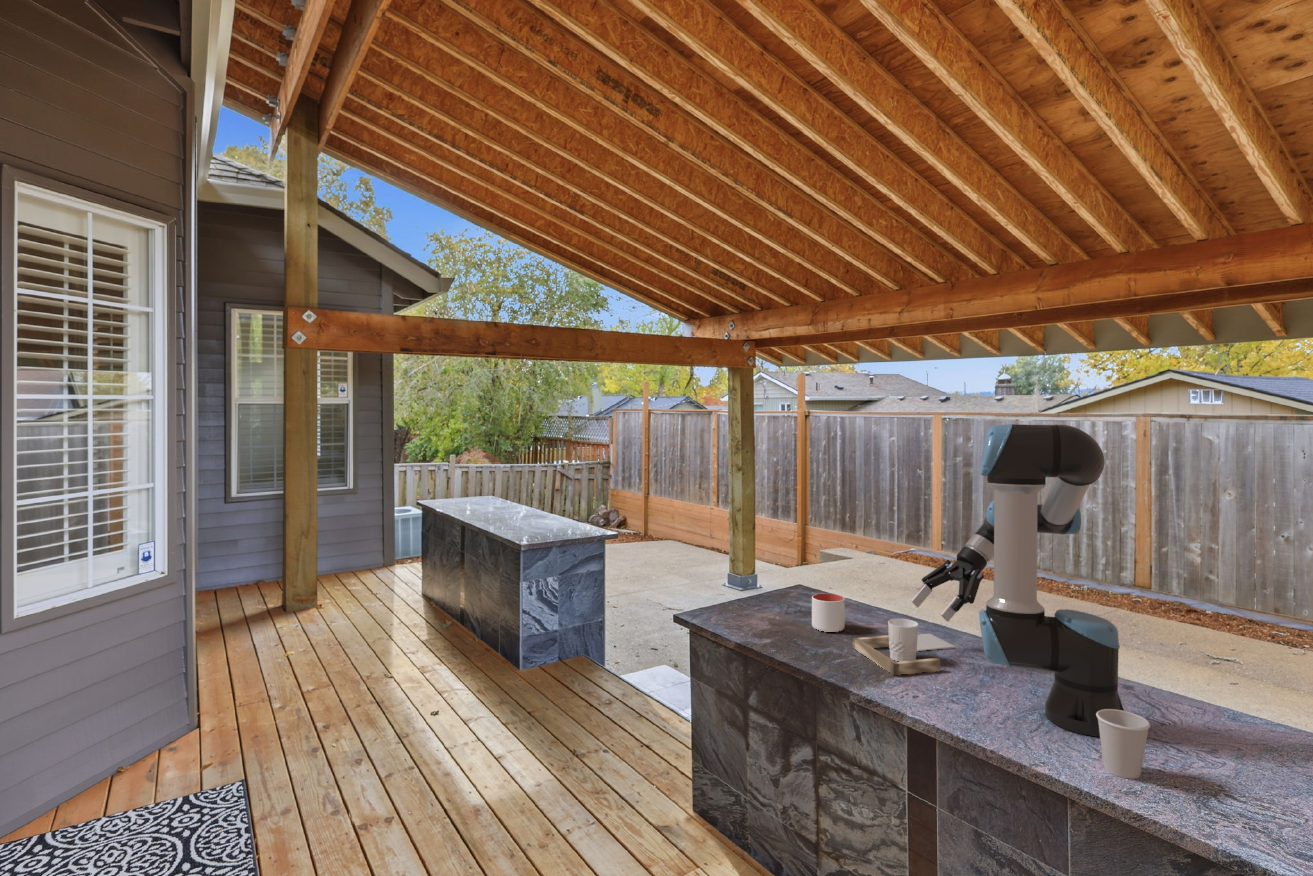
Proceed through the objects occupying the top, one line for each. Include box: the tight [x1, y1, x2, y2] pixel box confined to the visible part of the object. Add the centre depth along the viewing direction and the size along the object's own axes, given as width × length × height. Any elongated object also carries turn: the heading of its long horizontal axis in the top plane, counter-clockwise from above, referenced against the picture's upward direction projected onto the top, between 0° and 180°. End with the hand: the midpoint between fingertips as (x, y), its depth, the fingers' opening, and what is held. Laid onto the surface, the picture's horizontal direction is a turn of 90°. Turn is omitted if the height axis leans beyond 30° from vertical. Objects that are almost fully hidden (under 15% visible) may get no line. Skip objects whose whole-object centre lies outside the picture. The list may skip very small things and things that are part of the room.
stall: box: [851, 634, 941, 676], centre depth 185 cm, size 14×21×3 cm, turn 13°
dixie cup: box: [1096, 709, 1151, 780], centre depth 127 cm, size 8×8×10 cm
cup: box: [811, 592, 846, 633], centre depth 212 cm, size 10×10×10 cm
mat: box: [916, 633, 956, 652], centre depth 199 cm, size 12×12×1 cm
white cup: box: [887, 618, 919, 662], centre depth 186 cm, size 8×8×10 cm
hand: (928, 611), depth 188 cm, fingers open, 13 cm apart
